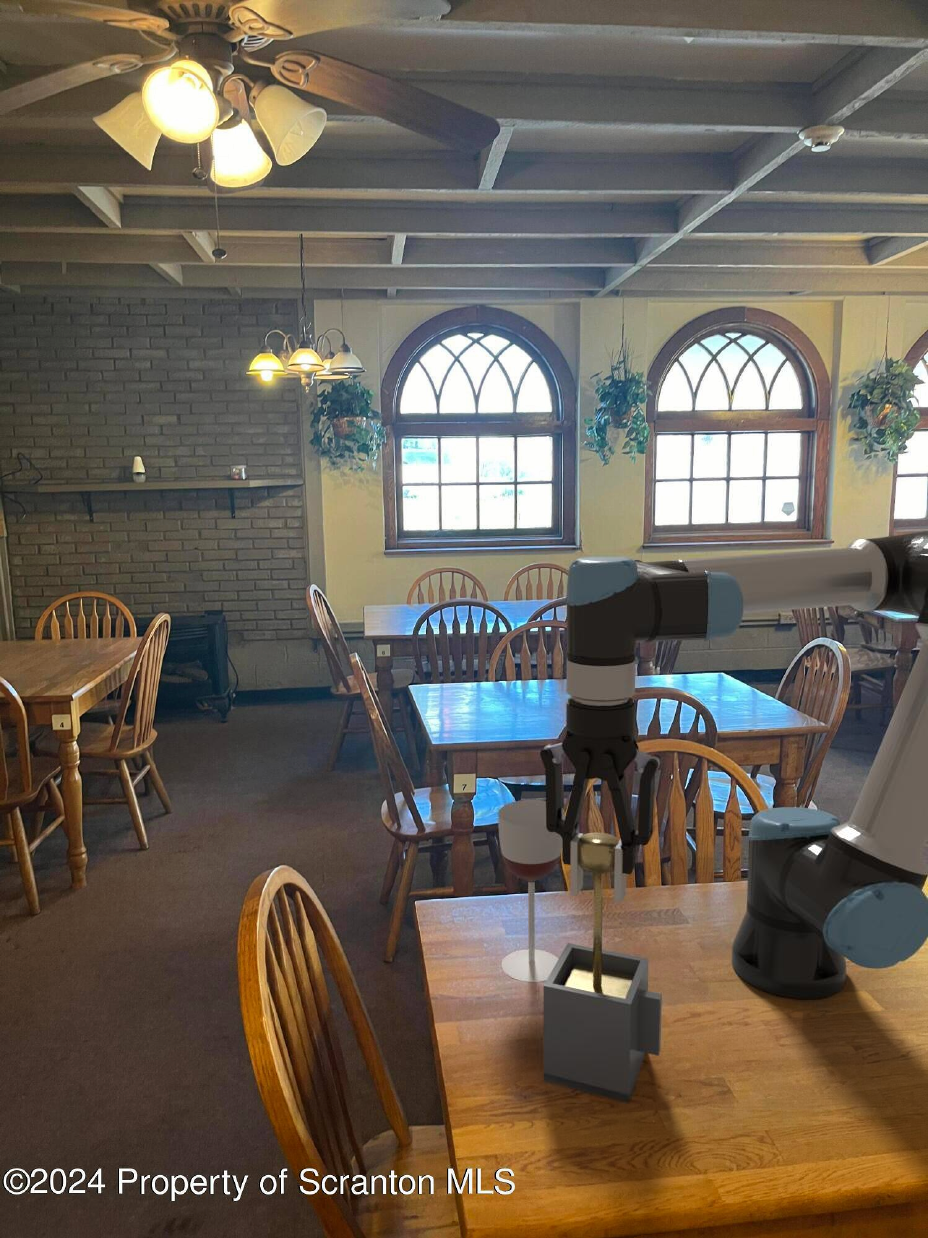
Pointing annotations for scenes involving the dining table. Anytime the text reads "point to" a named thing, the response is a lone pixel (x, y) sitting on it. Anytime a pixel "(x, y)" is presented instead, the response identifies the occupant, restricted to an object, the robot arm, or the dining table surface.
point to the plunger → (598, 919)
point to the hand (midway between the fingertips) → (598, 894)
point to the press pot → (599, 1026)
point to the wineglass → (528, 875)
